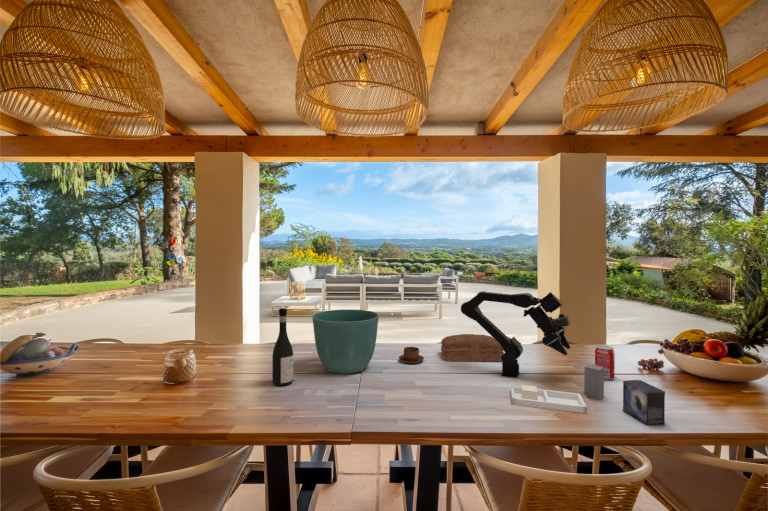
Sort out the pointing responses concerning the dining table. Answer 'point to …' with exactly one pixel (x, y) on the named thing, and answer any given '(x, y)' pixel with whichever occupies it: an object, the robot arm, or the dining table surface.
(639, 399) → the small box
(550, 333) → the robot arm
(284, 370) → the wine bottle
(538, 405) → the white divided tray
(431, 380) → the dining table surface
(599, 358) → the soda can
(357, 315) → the flower pot
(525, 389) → the cream block
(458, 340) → the bread
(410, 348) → the cup and saucer
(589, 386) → the charcoal block
